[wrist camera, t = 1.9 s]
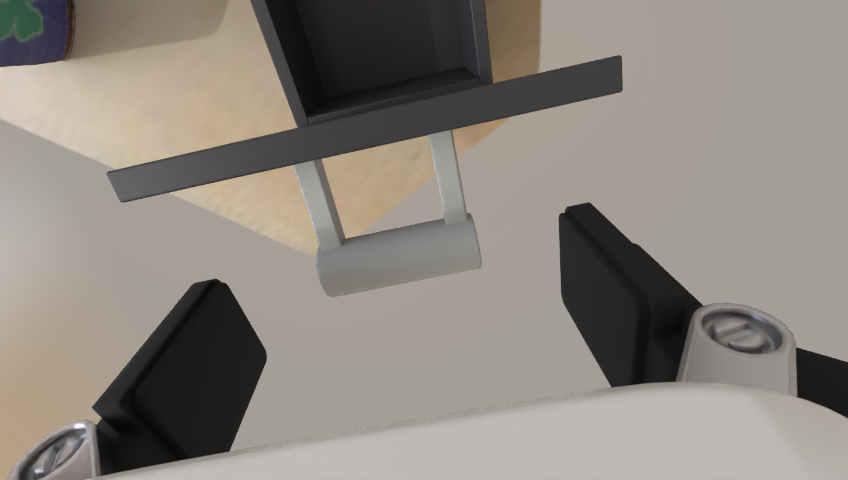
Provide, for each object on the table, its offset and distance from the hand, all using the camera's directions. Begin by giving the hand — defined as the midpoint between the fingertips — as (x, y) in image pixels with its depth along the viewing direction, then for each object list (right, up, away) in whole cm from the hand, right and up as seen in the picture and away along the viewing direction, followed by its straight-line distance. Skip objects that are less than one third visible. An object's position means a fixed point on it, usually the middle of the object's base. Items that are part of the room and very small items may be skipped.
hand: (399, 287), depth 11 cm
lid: (-1, +7, +6) cm, 9 cm away
